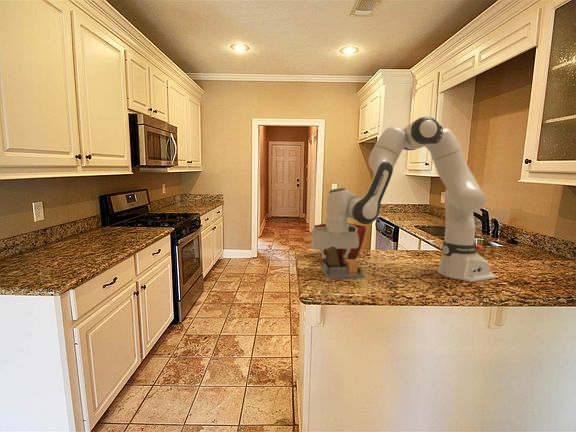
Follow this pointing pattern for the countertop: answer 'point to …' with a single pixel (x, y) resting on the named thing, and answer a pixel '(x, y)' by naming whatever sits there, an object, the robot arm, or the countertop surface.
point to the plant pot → (353, 251)
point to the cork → (332, 257)
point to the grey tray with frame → (340, 272)
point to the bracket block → (351, 265)
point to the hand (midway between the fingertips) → (334, 258)
